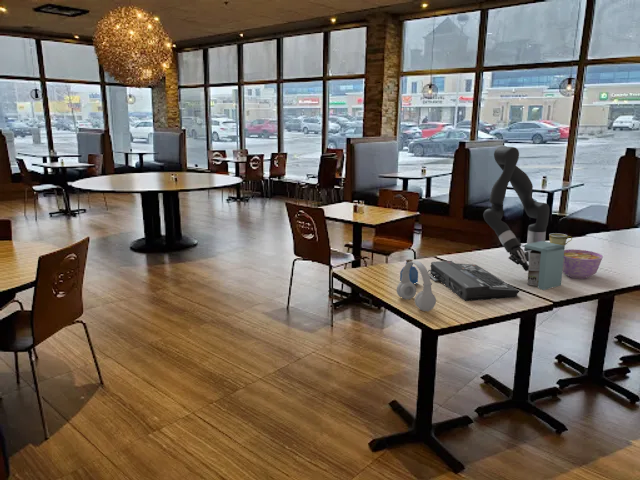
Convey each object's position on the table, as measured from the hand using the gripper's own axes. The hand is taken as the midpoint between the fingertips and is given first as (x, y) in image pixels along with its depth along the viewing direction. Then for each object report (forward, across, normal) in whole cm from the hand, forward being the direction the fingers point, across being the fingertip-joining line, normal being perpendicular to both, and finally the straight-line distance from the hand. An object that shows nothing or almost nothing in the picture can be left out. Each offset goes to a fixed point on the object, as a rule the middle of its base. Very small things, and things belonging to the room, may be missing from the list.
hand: (528, 270), depth 239 cm
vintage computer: (-3, -29, +12) cm, 32 cm away
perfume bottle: (-16, -52, +24) cm, 59 cm away
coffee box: (+7, 0, 0) cm, 7 cm away
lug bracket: (+9, 0, -2) cm, 9 cm away
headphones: (+1, -68, +7) cm, 68 cm away
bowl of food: (+11, +26, -3) cm, 28 cm away
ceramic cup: (-15, +64, +23) cm, 70 cm away
